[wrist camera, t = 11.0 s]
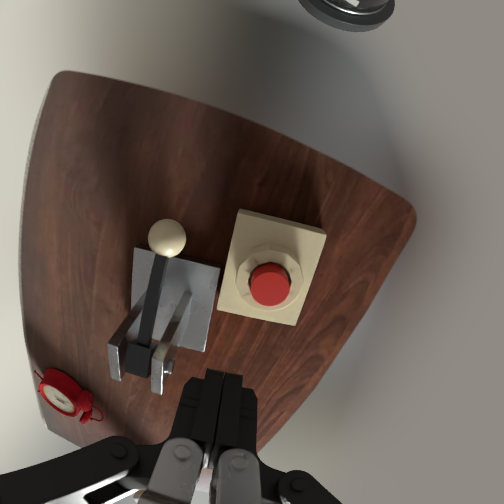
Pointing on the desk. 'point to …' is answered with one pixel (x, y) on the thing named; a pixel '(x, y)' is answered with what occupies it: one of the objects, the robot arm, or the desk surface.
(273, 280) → the button
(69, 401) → the alarm clock
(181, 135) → the desk surface
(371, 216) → the desk surface
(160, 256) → the lever
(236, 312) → the control block
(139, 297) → the bracket
